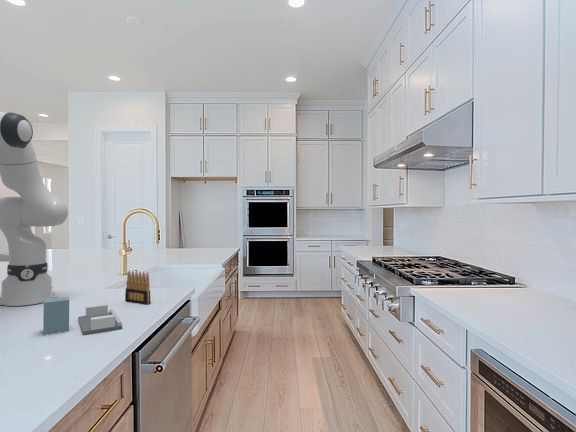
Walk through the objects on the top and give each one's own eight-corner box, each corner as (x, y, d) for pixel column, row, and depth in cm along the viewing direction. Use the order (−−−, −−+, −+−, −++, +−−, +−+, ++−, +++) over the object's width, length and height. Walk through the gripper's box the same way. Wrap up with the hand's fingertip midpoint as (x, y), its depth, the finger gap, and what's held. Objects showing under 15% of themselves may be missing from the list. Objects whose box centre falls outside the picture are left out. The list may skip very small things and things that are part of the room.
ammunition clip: (150, 303, 129) (151, 271, 129) (146, 305, 127) (147, 272, 127) (128, 300, 132) (129, 269, 132) (124, 301, 131) (125, 270, 131)
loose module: (43, 330, 98) (43, 299, 98) (68, 326, 102) (68, 296, 102) (43, 335, 95) (43, 302, 95) (68, 331, 98) (69, 300, 98)
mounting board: (78, 319, 108) (78, 307, 108) (113, 314, 114) (113, 302, 114) (82, 335, 95) (83, 320, 95) (122, 328, 101) (122, 315, 101)
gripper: (-66, 242, 76) (13, 245, 85) (-59, 243, 91) (8, 246, 100) (-71, 271, 75) (10, 271, 84) (-63, 267, 90) (5, 268, 99)
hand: (9, 257), depth 92 cm, fingers open, 8 cm apart
